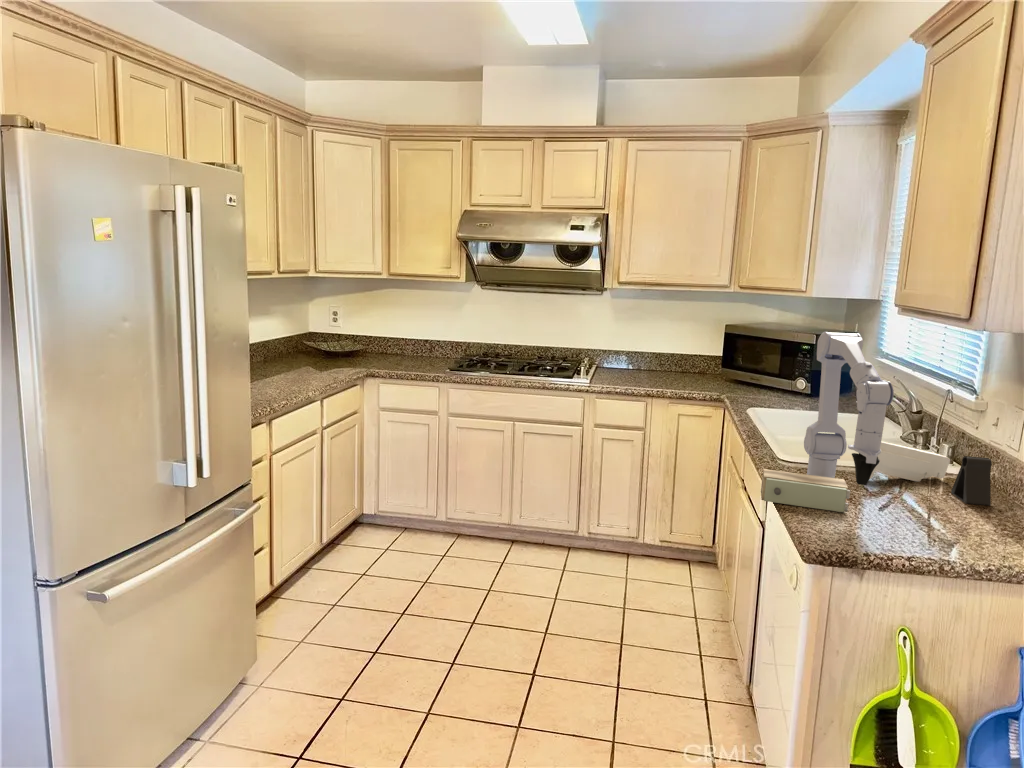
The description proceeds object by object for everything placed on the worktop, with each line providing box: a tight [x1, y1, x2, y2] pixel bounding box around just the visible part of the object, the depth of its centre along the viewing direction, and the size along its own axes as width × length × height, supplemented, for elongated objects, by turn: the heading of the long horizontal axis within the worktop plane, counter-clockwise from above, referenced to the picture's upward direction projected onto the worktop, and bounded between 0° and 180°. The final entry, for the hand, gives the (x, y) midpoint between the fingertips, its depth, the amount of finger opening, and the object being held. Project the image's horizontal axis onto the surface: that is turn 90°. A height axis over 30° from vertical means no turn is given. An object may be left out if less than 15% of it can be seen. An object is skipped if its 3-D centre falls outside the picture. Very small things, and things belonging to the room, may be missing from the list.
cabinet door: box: [763, 478, 851, 513], centre depth 171 cm, size 2×20×6 cm, turn 71°
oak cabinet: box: [760, 468, 849, 503], centre depth 176 cm, size 7×20×6 cm, turn 71°
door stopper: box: [950, 455, 992, 507], centre depth 183 cm, size 9×6×12 cm, turn 170°
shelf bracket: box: [870, 441, 951, 482], centre depth 198 cm, size 6×25×13 cm, turn 99°
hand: (861, 483), depth 163 cm, fingers closed
